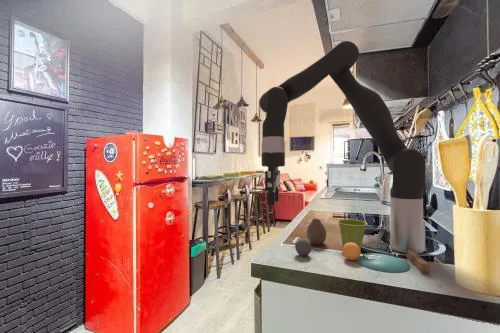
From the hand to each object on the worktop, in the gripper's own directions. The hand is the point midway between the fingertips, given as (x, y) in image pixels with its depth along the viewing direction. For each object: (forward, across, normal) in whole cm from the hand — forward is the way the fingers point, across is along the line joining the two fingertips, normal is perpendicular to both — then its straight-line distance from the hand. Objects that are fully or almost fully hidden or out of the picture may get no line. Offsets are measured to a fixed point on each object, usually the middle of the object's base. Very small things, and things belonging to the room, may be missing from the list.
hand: (273, 202), depth 80 cm
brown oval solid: (+16, -14, +13) cm, 25 cm away
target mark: (+16, 0, +31) cm, 35 cm away
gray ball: (+13, 0, +9) cm, 16 cm away
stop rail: (+16, 0, +40) cm, 43 cm away
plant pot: (+16, -12, +25) cm, 32 cm away
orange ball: (+13, 0, +23) cm, 27 cm away
